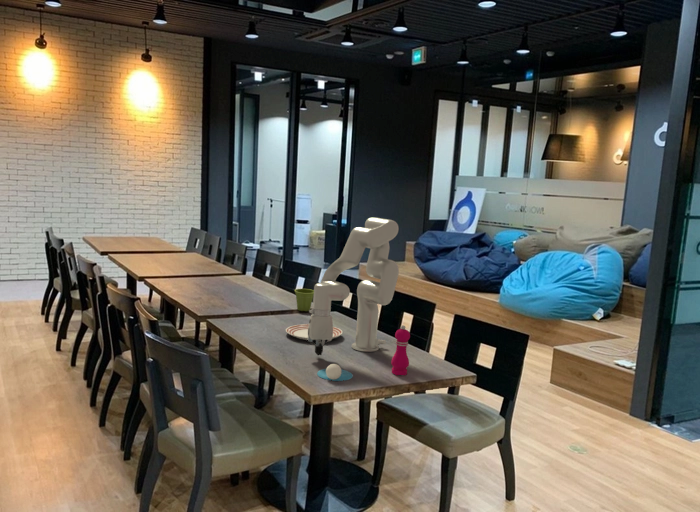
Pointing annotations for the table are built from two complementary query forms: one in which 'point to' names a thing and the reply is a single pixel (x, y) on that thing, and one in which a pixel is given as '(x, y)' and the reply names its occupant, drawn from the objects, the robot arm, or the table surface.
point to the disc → (344, 376)
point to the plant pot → (304, 299)
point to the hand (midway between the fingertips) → (318, 354)
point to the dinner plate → (302, 331)
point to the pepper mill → (401, 352)
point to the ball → (333, 371)
